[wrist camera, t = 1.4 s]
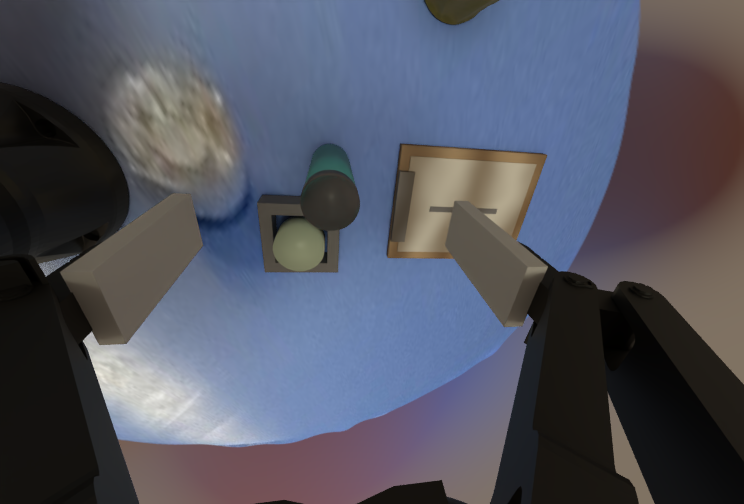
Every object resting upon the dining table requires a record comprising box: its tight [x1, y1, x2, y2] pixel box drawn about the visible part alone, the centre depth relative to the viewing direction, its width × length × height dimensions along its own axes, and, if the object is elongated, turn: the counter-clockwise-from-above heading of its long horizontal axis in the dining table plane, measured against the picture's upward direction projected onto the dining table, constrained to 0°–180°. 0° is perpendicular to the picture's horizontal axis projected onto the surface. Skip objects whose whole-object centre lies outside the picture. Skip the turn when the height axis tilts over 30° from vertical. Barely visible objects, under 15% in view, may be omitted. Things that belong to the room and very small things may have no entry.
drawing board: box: [387, 144, 547, 259], centre depth 33 cm, size 16×13×1 cm
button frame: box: [257, 195, 339, 272], centre depth 32 cm, size 8×8×2 cm
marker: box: [300, 144, 360, 231], centre depth 24 cm, size 4×4×13 cm
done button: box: [273, 216, 325, 271], centre depth 30 cm, size 5×5×3 cm
